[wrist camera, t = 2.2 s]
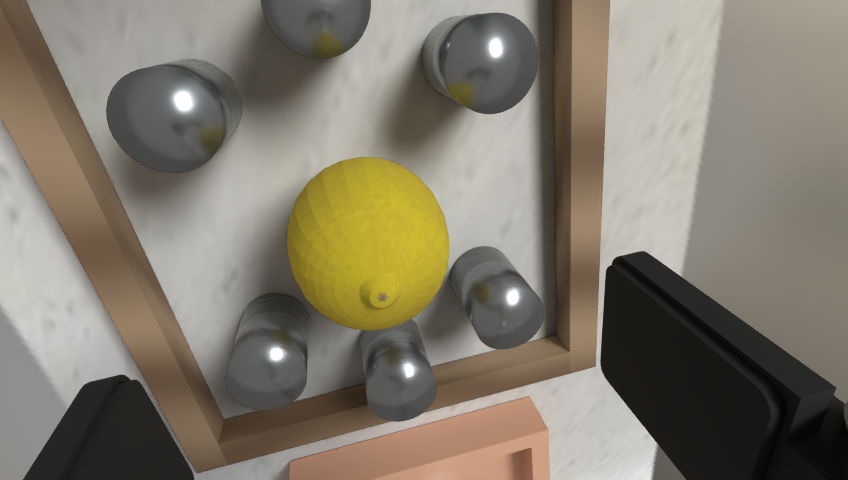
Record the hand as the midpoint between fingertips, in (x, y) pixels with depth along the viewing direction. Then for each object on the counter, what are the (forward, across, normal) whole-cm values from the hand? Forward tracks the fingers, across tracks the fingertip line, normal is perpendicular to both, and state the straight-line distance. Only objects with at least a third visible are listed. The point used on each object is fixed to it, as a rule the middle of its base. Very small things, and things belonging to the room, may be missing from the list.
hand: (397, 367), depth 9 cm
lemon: (+12, 0, +1) cm, 12 cm away
